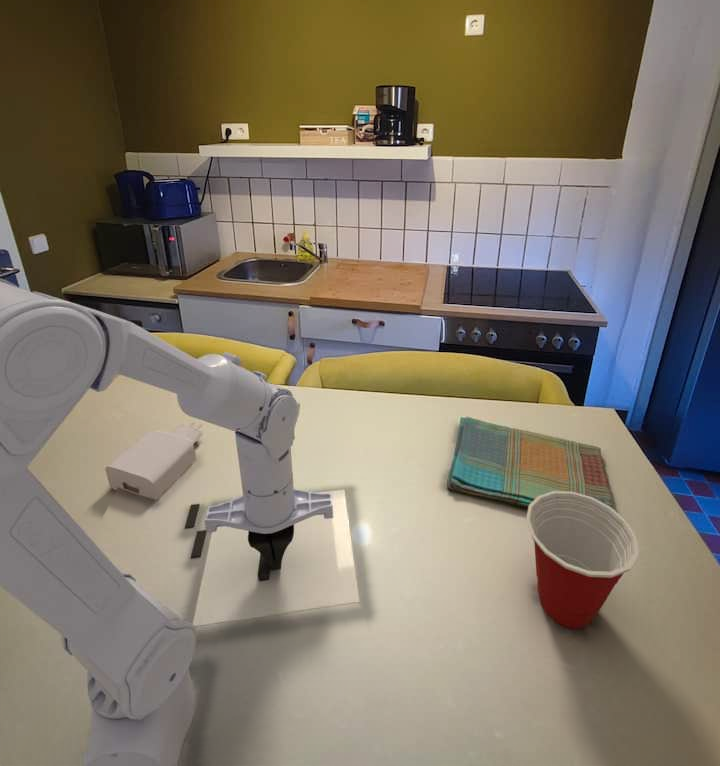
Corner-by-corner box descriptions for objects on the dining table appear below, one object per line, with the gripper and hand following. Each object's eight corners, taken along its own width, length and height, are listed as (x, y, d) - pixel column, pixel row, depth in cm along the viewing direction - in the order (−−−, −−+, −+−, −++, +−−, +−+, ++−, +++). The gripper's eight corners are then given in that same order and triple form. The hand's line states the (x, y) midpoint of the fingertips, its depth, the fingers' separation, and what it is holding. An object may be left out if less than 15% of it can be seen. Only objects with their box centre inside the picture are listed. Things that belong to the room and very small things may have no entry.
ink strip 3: (268, 580, 52) (267, 573, 51) (258, 581, 52) (257, 574, 51) (271, 551, 55) (270, 544, 55) (262, 552, 55) (261, 545, 55)
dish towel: (459, 423, 81) (460, 411, 80) (597, 451, 73) (600, 439, 73) (445, 491, 66) (446, 478, 65) (618, 535, 58) (622, 521, 57)
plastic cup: (531, 542, 57) (544, 472, 53) (624, 594, 51) (646, 519, 47) (499, 608, 49) (512, 532, 45) (603, 680, 43) (629, 598, 39)
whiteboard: (366, 613, 49) (366, 607, 49) (184, 640, 46) (183, 634, 46) (348, 490, 66) (348, 485, 65) (214, 505, 63) (213, 500, 63)
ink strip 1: (185, 533, 59) (194, 532, 59) (184, 527, 58) (193, 526, 59) (192, 510, 62) (200, 509, 63) (190, 504, 62) (199, 503, 62)
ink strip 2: (200, 555, 55) (190, 556, 54) (201, 562, 55) (191, 563, 55) (206, 529, 58) (197, 530, 58) (207, 536, 58) (198, 537, 58)
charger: (220, 440, 77) (157, 505, 63) (178, 429, 79) (110, 489, 66) (217, 418, 75) (151, 480, 62) (174, 407, 78) (103, 464, 65)
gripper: (328, 446, 53) (331, 527, 58) (208, 458, 51) (221, 540, 56) (333, 490, 47) (336, 578, 51) (194, 506, 45) (211, 595, 49)
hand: (276, 562), depth 53 cm, fingers closed
